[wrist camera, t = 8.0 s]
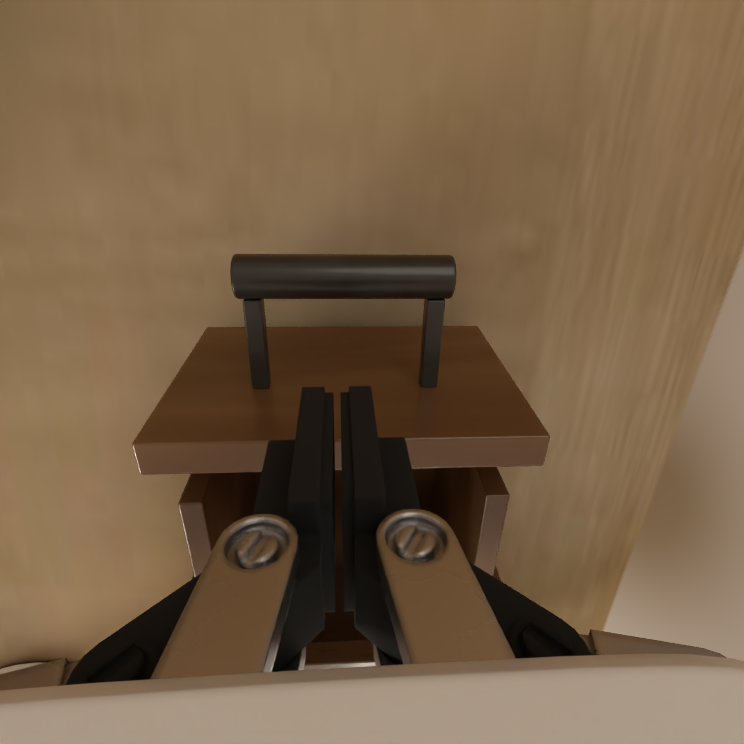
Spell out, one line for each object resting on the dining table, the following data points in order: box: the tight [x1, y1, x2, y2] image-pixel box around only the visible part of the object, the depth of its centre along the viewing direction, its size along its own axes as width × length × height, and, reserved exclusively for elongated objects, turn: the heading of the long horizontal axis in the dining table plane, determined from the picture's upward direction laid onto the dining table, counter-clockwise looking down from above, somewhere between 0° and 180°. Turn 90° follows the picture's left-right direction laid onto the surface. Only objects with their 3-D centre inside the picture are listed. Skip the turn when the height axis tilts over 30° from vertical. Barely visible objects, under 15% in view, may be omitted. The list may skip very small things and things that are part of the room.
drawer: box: [132, 254, 550, 642], centre depth 21 cm, size 20×13×9 cm, turn 179°
